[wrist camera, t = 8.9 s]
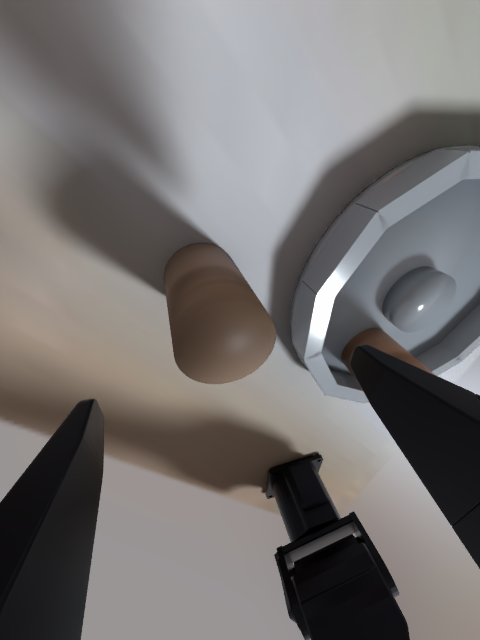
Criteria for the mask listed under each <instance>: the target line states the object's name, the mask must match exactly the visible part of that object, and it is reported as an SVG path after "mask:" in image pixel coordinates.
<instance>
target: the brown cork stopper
mask: <svg viewBox="0 0 480 640" xmlns="http://www.w3.org/2000/svg"><path fill="white" fill-rule="evenodd" d="M364 344H366V345H369V346H372V347H374V348H376V349H378V350H380V351H383V352H385V353H387V354H389V355H391V356H394V357H396V358H398V359H400V360H402V361H405V362H407V363H409V364H411V365H413V366H416V367H418V368H420V369H422V370H424V371H427V372H429V373H431V374H433V375H435V374H434V373H433V372H431V371H430V370H429V369H428V368H427V367H425V366H424V365H423V364H422V363H421V362H420V361H418V360H417V359H416V358H415V357H414V356H413V355H411V354H410V353H409V352H408V351H407V350H406V349H404V348H403V347H402V346H401V345H400V344H399V343H397V342H396V341H395V340H394V339H393V338H391V337H390V336H389V335H388V334H387V333H386V332H384V331H383V330H382V329H379V328H371V329H367V330H364V331H362V332H360V333H359V334H357V335H356V336H354V337H353V338H352V339H351V340H350V341H349V342H348V343H347V344H346V346H345V347H344V349H343V352H342V355H341V359H342V362H343V364H344V365H345V366H346V367H347V368H348V370H349V371H350V372H351V373H352V374H353V376H354V377H355V375H354V373H353V371H352V369H351V366H350V360H351V357H352V354H353V351H354V349H355V347H356V346H359V345H364ZM435 376H436V375H435ZM355 378H356V377H355ZM356 379H357V378H356Z"/></svg>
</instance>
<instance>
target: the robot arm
mask: <svg viewBox="0 0 480 640" xmlns="http://www.w3.org/2000/svg"><path fill="white" fill-rule="evenodd" d="M350 366H351V369H352V371H353V373H354V375H355V377H356V378H357V380H358V382H359V384H360V386H361V388H362V390H363V392H364V393H365V395H366V397H367V399H368V401H369V402H370V404H371V406H372V407H373V409H374V410H375V412H376V413H377V415H378V416H379V418H380V419H381V421H382V422H383V424H384V425H385V427H386V428H387V430H388V431H389V433H390V434H391V436H392V437H393V439H394V440H395V442H396V443H397V445H398V446H399V448H400V449H401V451H402V452H403V454H404V455H405V457H406V458H407V460H408V461H409V463H410V464H411V466H412V467H413V469H414V470H415V472H416V473H417V475H418V476H419V478H420V479H421V481H422V483H423V484H424V486H425V487H426V489H427V490H428V492H429V493H430V494H431V496H432V498H433V499H434V500H435V502H436V503H437V505H438V507H439V508H440V509H441V511H442V513H443V514H444V516H445V517H446V518H447V520H448V522H449V523H450V525H452V528H453V529H454V531H455V532H456V534H457V535H458V537H459V538H460V540H461V541H462V543H463V544H464V545H465V547H466V549H467V550H468V552H469V553H470V555H471V556H472V558H473V559H474V561H475V562H476V564H477V565H478V567H479V568H480V395H477V394H474V393H473V392H471V391H468V390H466V389H464V388H462V387H460V386H457V385H455V384H453V383H451V382H449V381H446V380H444V379H442V378H440V377H438V376H435V375H433V374H431V373H429V372H427V371H424V370H422V369H420V368H418V367H416V366H413V365H411V364H409V363H407V362H405V361H402V360H400V359H398V358H396V357H394V356H391V355H389V354H387V353H385V352H383V351H380V350H378V349H376V348H374V347H372V346H369V345H366V344H364V345H359V346H356V347H355V349H354V351H353V354H352V357H351V360H350ZM103 459H104V417H103V414H102V412H101V409H100V407H99V405H98V403H97V401H96V400H95V399H88V400H83V401H80V402H79V403H78V404H77V405H76V406H75V408H74V409H73V410H72V411H71V413H70V414H69V415H68V417H67V418H66V419H65V420H64V422H63V423H62V424H61V426H60V427H59V428H58V429H57V431H56V432H55V433H54V434H53V436H52V437H51V438H50V440H49V441H48V442H47V443H46V445H45V446H44V447H43V449H42V450H41V451H40V453H39V454H38V455H37V456H36V458H35V459H34V460H33V462H32V463H31V464H30V465H29V467H28V468H27V469H26V470H25V472H24V473H23V474H22V476H21V477H20V478H19V479H18V481H17V482H16V483H15V485H14V486H13V487H12V489H11V490H10V491H9V492H8V493H7V495H6V496H5V497H4V499H3V500H2V501H1V502H0V640H81V633H82V625H83V618H84V610H85V603H86V596H87V589H88V581H89V574H90V566H91V559H92V552H93V544H94V537H95V530H96V522H97V515H98V508H99V500H100V493H101V485H102V477H103ZM322 461H323V458H322V456H321V455H316V456H313V457H310V458H306V459H303V460H300V461H296V462H293V463H289V464H286V465H283V466H279V467H276V468H273V469H271V470H270V471H269V474H268V481H267V488H266V497H267V499H270V498H273V497H275V499H276V502H277V505H278V507H279V510H280V513H281V516H282V519H283V521H284V524H285V527H286V530H287V533H288V536H289V538H290V541H291V543H289V544H287V545H285V546H283V547H282V546H280V547H278V548H277V553H276V554H275V555H274V556H275V559H276V562H277V566H278V569H279V572H280V576H281V580H282V586H283V590H284V595H285V600H286V605H287V609H288V614H289V617H290V619H291V620H293V621H294V622H296V623H297V625H298V627H299V629H300V630H301V632H302V635H303V637H304V639H305V640H309V639H311V640H410V639H409V632H408V625H407V622H406V620H405V618H404V616H403V614H402V612H401V610H400V608H399V606H398V604H397V602H396V600H395V598H394V597H396V596H398V595H399V592H398V589H397V587H396V585H395V583H394V580H393V578H392V576H391V574H390V573H389V571H388V569H387V567H386V565H385V563H384V561H383V560H382V558H381V556H380V554H379V553H378V551H377V549H376V548H375V546H374V544H373V543H372V541H371V540H370V538H369V536H368V534H367V533H366V531H365V529H364V528H363V526H362V524H361V522H360V521H359V519H358V517H357V516H356V514H355V513H354V512H352V513H349V515H348V516H346V517H344V518H341V517H340V515H339V513H338V511H337V509H336V508H335V506H334V504H333V502H332V500H331V498H330V496H329V494H328V492H327V490H326V488H325V486H324V484H323V482H322V480H321V478H320V476H319V474H318V472H319V469H320V466H321V464H322ZM353 533H355V534H356V538H355V537H354V536H353ZM293 562H294V565H293Z"/></svg>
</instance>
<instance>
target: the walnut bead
mask: <svg viewBox="0 0 480 640" xmlns="http://www.w3.org/2000/svg"><path fill="white" fill-rule="evenodd" d="M164 285H165V292H166V299H167V307H168V314H169V322H170V329H171V337H172V344H173V352H174V358H175V361H176V364H177V366H178V367H179V369H180V370H181V371H182V372H183V373H184V374H185V375H186V376H188V377H189V378H191V379H193V380H195V381H198V382H202V383H207V384H223V383H229V382H233V381H236V380H239V379H241V378H243V377H245V376H247V375H249V374H251V373H252V372H254V371H255V370H256V369H258V368H259V367H260V366H261V365H262V364H263V363H264V362H265V361H266V359H267V358H268V357H269V355H270V354H271V352H272V350H273V347H274V344H275V340H276V329H275V325H274V322H273V320H272V319H271V317H270V316H269V314H268V313H267V311H266V310H265V308H264V307H263V305H262V304H261V302H260V301H259V299H258V298H257V296H256V295H255V293H254V292H253V290H252V289H251V287H250V286H249V284H248V283H247V281H246V280H245V278H244V277H243V275H242V274H241V272H240V271H239V269H238V268H237V266H236V265H235V263H234V262H233V260H232V259H231V257H230V256H229V255H228V254H227V253H226V252H225V251H224V250H223V249H221V248H220V247H218V246H215V245H212V244H208V243H196V244H191V245H188V246H186V247H184V248H182V249H180V250H179V251H177V252H176V253H175V254H174V255H173V256H172V257H171V259H170V260H169V262H168V263H167V265H166V268H165V272H164Z"/></svg>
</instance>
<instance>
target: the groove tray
mask: <svg viewBox="0 0 480 640" xmlns="http://www.w3.org/2000/svg"><path fill="white" fill-rule="evenodd" d="M371 328H379V329H382V330H383V331H384V332H386V333H387V334H388V335H389V336H390V337H391V338H393V339H394V340H395V341H396V342H397V343H399V344H400V345H401V346H402V347H403V348H404V349H406V350H407V351H408V352H409V353H410V354H411V355H413V356H414V357H415V358H416V359H417V360H418V361H420V362H421V363H422V364H423V365H424V366H425V367H427V368H428V369H429V370H430V371H431V372H433V373H434V374H435V375H436V376H438V375H439V374H441V373H443V372H445V371H446V370H448V369H450V368H451V367H453V366H455V365H457V364H458V363H460V362H461V361H462V360H464V359H465V358H466V357H467V356H468V355H469V354H470V353H471V352H472V351H473V350H475V349H476V348H477V347H478V346H479V345H480V146H467V145H462V146H452V147H445V148H438V149H436V150H434V151H430V152H427V153H424V154H422V155H420V156H417V157H415V158H413V159H411V160H408V161H406V162H404V163H403V164H401V165H399V166H398V167H396V168H394V169H393V170H391V171H389V172H387V173H386V174H385V175H383V176H382V177H381V178H379V179H378V180H377V181H375V182H374V183H373V184H371V185H370V186H368V187H367V188H366V189H365V190H364V191H363V192H362V193H361V194H360V195H358V196H357V197H356V198H355V199H354V200H353V201H352V202H351V203H350V204H349V205H348V206H347V207H346V208H345V209H344V210H343V211H342V213H341V214H340V215H339V216H338V217H337V218H336V219H335V220H334V221H333V223H332V224H331V226H330V227H329V228H328V230H327V231H326V232H325V234H324V235H323V236H322V238H321V239H320V240H319V242H318V244H317V245H316V247H315V249H314V250H313V252H312V254H311V255H310V257H309V259H308V261H307V263H306V265H305V267H304V269H303V272H302V274H301V276H300V279H299V282H298V284H297V287H296V290H295V293H294V298H293V303H292V307H291V318H290V329H291V338H292V344H293V346H294V349H295V351H296V353H297V355H298V357H299V358H300V360H301V361H302V363H303V364H304V365H305V367H306V368H307V369H308V370H309V372H310V373H311V375H312V377H313V378H314V380H315V381H316V383H317V384H318V386H319V387H320V389H321V390H322V392H323V393H324V395H327V396H332V397H336V398H341V399H346V400H350V401H355V402H360V403H367V402H369V401H368V399H367V397H366V395H365V393H364V392H363V390H362V388H361V386H360V384H359V382H358V380H357V379H356V378H355V377H354V376H353V374H352V373H351V372H350V371H349V370H348V368H347V367H346V366H345V365H344V364H343V362H342V359H341V355H342V352H343V349H344V347H345V346H346V344H347V343H348V342H349V341H350V340H351V339H352V338H353V337H354V336H356V335H357V334H359V333H360V332H362V331H364V330H367V329H371Z"/></svg>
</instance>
